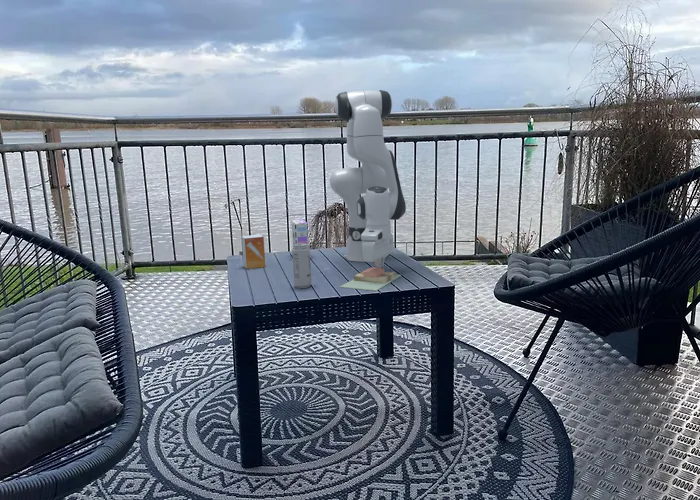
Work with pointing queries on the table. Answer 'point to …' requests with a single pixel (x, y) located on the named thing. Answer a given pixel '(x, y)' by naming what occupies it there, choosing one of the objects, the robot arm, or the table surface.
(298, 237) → the candy box
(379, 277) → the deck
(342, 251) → the table surface
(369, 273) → the tile
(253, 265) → the small box
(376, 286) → the mat
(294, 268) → the energy drink can
